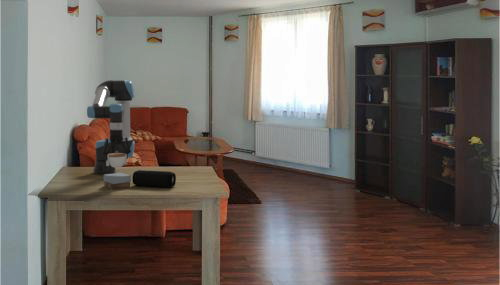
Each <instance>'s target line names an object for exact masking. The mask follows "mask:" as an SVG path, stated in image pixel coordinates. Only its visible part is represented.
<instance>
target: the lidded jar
mask: <svg viewBox="0 0 500 285" xmlns="http://www.w3.org/2000/svg"><path fill="white" fill-rule="evenodd" d="M108 155H109V164H110V165H111V166H112V167H115V168H122V167H123V165H125V164H124V162H125V154H124V153H117V151H116V153H110V154H108Z"/></svg>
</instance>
